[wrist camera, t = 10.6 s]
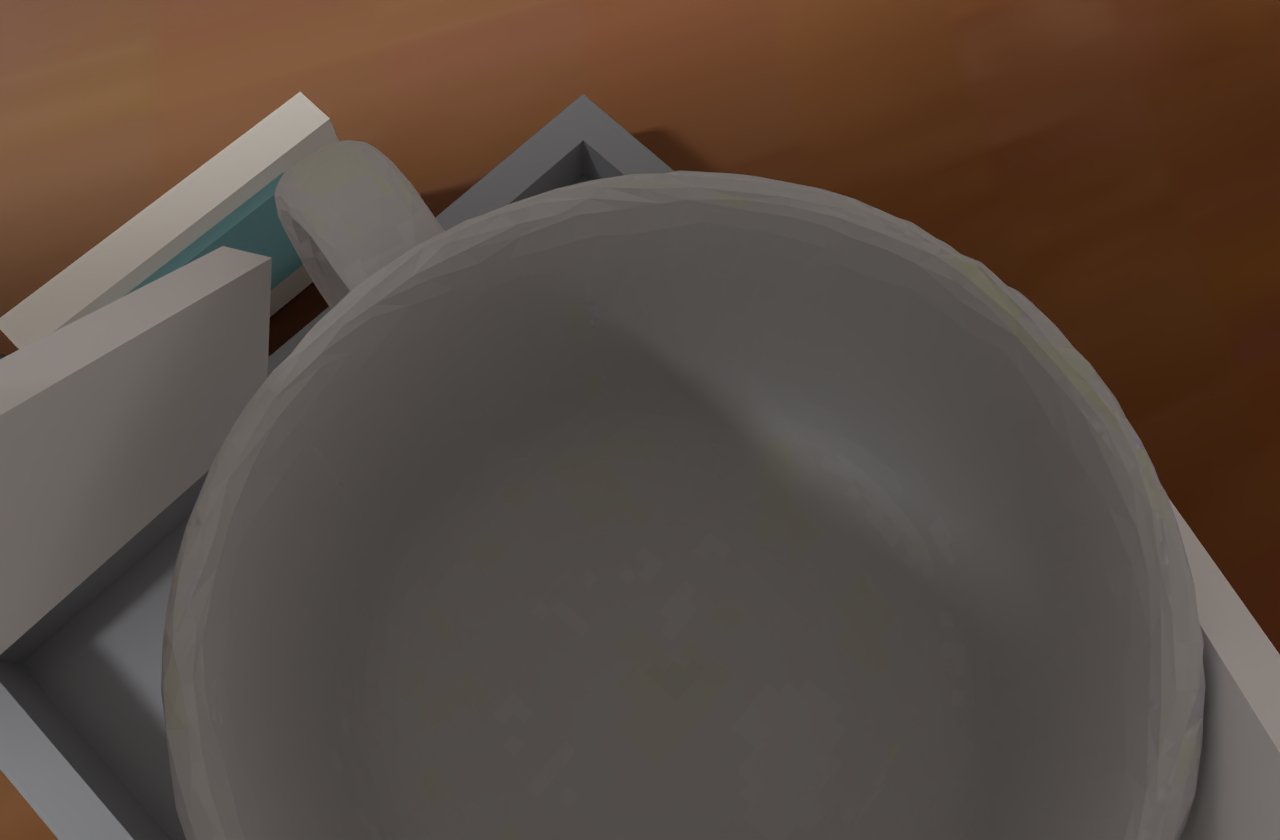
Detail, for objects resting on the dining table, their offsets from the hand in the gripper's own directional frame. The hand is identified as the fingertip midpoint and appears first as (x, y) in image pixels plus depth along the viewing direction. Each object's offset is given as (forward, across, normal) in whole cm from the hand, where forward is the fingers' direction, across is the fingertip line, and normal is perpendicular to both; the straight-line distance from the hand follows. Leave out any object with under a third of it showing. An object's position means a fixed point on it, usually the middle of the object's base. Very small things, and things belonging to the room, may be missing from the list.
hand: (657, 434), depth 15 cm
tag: (+10, -11, -4) cm, 15 cm away
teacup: (+1, 0, -5) cm, 5 cm away
